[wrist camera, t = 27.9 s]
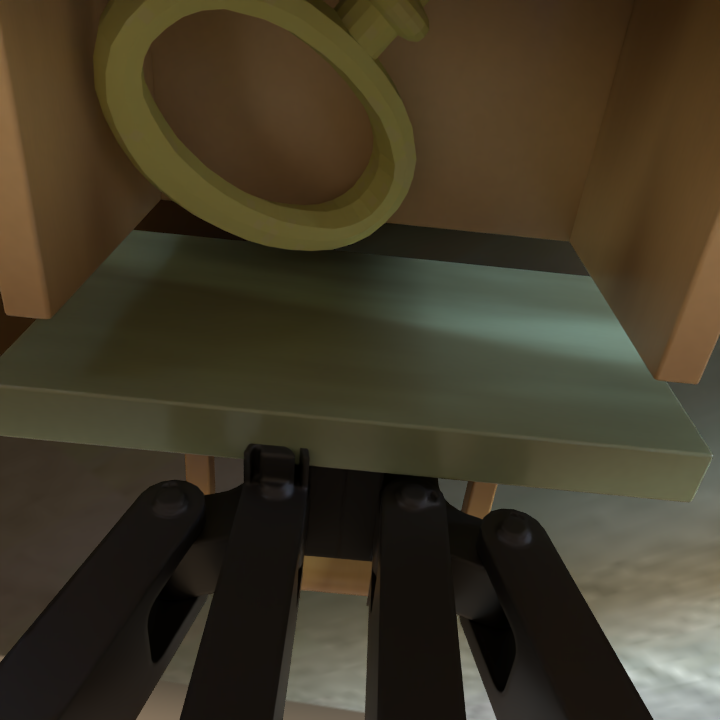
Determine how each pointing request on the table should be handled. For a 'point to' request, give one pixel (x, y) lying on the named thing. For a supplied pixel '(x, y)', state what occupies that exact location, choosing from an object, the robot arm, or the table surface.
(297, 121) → the drawer
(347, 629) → the table surface
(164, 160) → the key
